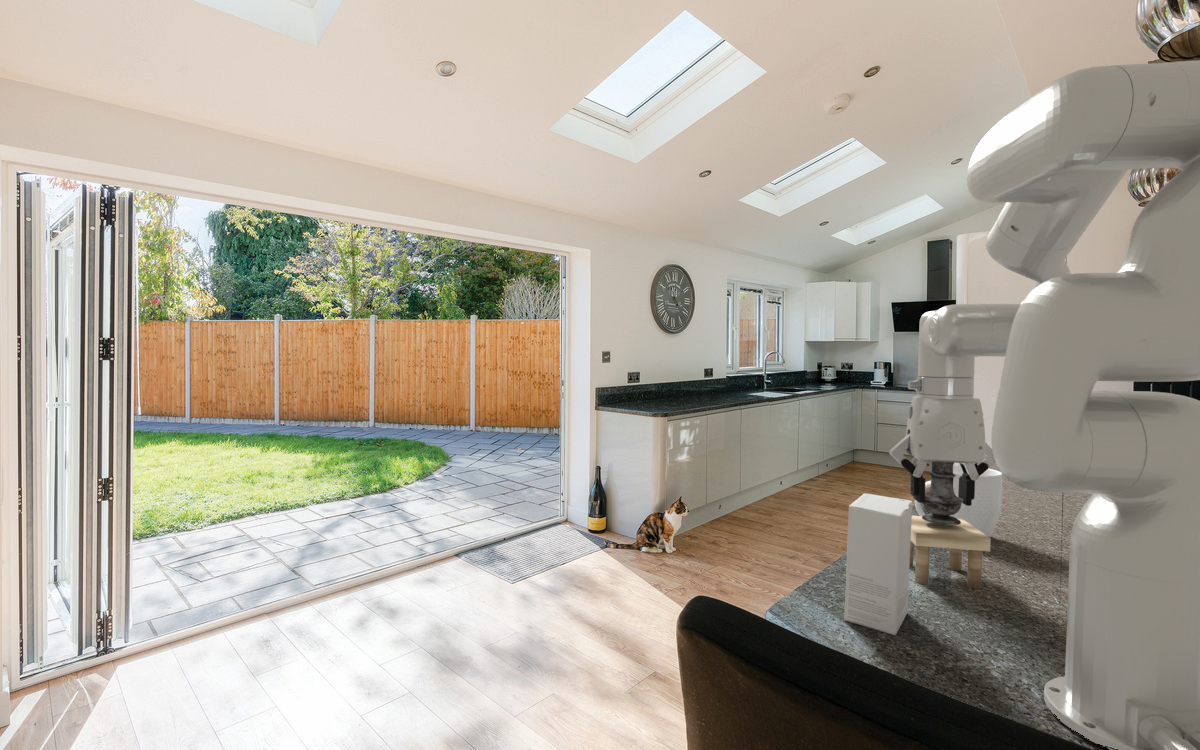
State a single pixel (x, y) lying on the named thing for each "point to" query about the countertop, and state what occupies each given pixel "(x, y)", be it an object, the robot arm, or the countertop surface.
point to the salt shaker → (942, 496)
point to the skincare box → (878, 562)
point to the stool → (953, 539)
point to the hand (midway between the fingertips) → (941, 501)
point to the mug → (978, 500)
